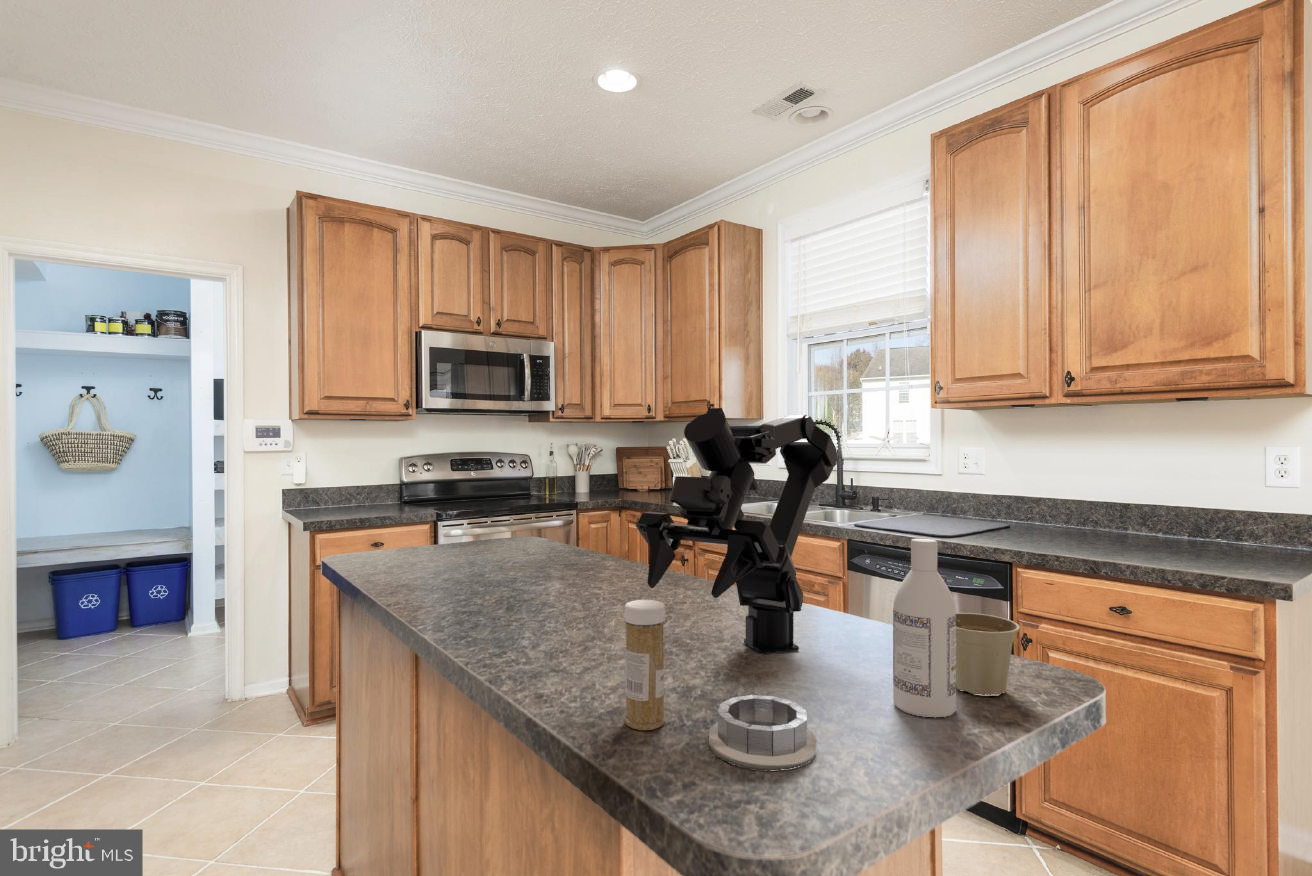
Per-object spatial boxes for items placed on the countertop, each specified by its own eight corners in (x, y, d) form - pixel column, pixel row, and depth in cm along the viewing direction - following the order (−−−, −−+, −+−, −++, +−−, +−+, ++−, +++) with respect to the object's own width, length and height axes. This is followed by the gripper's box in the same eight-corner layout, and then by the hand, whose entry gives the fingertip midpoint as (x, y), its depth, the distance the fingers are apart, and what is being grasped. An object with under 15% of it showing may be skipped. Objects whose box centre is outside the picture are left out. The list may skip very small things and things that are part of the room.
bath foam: (936, 696, 83) (936, 535, 83) (968, 719, 76) (968, 544, 76) (883, 698, 82) (883, 536, 82) (910, 721, 75) (910, 544, 76)
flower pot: (974, 706, 80) (974, 634, 80) (922, 679, 89) (922, 615, 89) (1037, 699, 82) (1037, 629, 82) (981, 673, 91) (981, 610, 91)
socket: (783, 718, 76) (783, 687, 76) (838, 761, 66) (838, 726, 66) (693, 730, 73) (693, 698, 73) (736, 778, 62) (736, 741, 62)
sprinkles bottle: (672, 725, 74) (673, 604, 74) (638, 735, 71) (638, 610, 71) (650, 712, 78) (651, 596, 78) (616, 720, 75) (617, 601, 75)
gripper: (643, 452, 91) (592, 544, 82) (768, 454, 81) (725, 559, 71) (674, 505, 98) (630, 595, 88) (794, 513, 87) (758, 616, 78)
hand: (680, 591), depth 81 cm, fingers open, 9 cm apart
